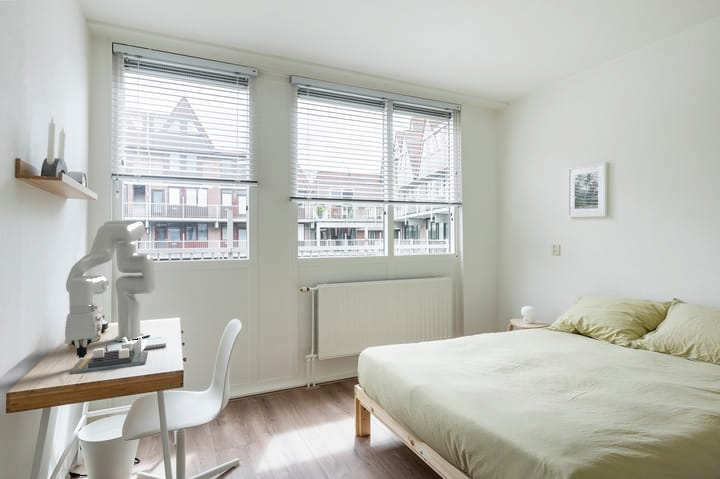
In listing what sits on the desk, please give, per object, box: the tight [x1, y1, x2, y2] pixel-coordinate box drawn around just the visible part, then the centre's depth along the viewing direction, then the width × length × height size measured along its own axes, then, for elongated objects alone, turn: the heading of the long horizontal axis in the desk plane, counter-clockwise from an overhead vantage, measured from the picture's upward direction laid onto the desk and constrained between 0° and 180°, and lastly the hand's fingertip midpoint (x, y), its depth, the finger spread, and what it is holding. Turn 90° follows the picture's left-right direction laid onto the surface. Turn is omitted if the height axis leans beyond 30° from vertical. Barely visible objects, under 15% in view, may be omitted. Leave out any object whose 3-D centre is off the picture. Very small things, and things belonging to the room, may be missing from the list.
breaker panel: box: [71, 349, 149, 374], centre depth 157 cm, size 15×24×3 cm, turn 115°
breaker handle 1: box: [121, 342, 132, 351], centre depth 164 cm, size 3×3×5 cm
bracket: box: [121, 336, 148, 353], centre depth 175 cm, size 13×7×8 cm, turn 18°
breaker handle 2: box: [118, 348, 129, 359], centre depth 155 cm, size 3×3×5 cm
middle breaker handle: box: [92, 347, 105, 358], centre depth 155 cm, size 3×3×5 cm
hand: (82, 356), depth 153 cm, fingers closed
